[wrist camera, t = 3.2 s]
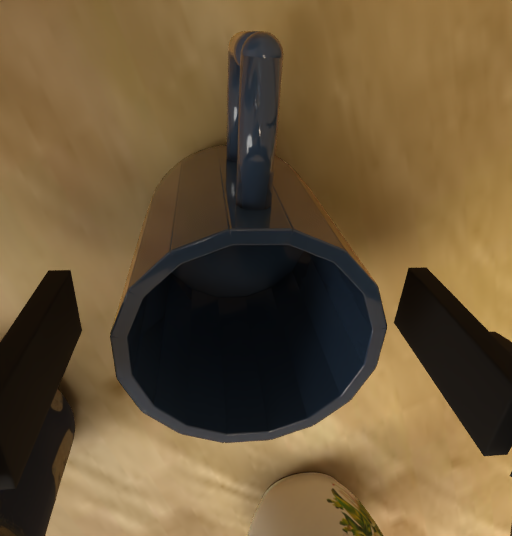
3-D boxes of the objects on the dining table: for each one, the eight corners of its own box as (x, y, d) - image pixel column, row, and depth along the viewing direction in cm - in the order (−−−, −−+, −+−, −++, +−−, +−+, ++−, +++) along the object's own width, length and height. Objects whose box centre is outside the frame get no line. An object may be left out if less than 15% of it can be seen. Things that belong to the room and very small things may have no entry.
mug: (304, 296, 24) (358, 434, 16) (153, 299, 23) (127, 450, 15) (340, 38, 17) (464, 43, 9) (130, 24, 16) (59, 17, 8)
